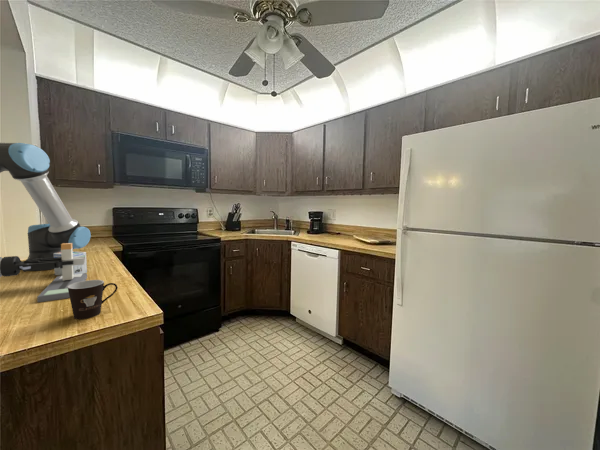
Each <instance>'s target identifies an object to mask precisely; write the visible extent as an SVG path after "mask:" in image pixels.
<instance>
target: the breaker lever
mask: <svg viewBox="0 0 600 450" xmlns="http://www.w3.org/2000/svg"><path fill="white" fill-rule="evenodd" d="M73 252H74V249H73V248H72V243H63V244H61V256H62V261H63V260H64V259H73ZM61 276H62V278H63V280H72V279H73V278H74V271H73V265H72V266H63V268H62V275H61Z"/></svg>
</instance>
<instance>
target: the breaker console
mask: <svg viewBox="0 0 600 450" xmlns="http://www.w3.org/2000/svg"><path fill="white" fill-rule="evenodd" d="M87 279H88V272H87V273H84V274H75V275H74V278H73V279H72V280H63V278H62V275H56V277H55V278H54V279H53V280H52V281H51V282H50V283H49V284H48V285H47V286H46V288H44V289H43V290H42V291H41V293H39V295H38V296H36V297H37V298H36V299H37V303H42V302H50V301H51V302H52V301H57V300H58V301H59V300H65V299H66V300H67V299H70V296H69V292H68V286H69V285H71V284H73V283H77V282H81V281H87Z"/></svg>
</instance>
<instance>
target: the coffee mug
mask: <svg viewBox="0 0 600 450" xmlns="http://www.w3.org/2000/svg"><path fill="white" fill-rule="evenodd" d="M108 286H114V287H115V289H114V291H113V292H112V293H111V294H109V295H107V296H106V297H105V298H104V299H103V293H104V291H105V289H106V288H107V287H108ZM117 291H118V285H117V284H116V283H114V282H110V283H109V282H108V283H107V284H105V281H104V280H102V279H89V280H86V281H81V282H77V283H73V284H71V285H69V286H68V292H69V296H70V298H69V300H70V301H69V302H70V305H71V310H72V314H73V315H72V316H73V319H75V320H86V319H91V318H95V317H97V316H99V315H100V314H101V312H102V304H103V303H105V302H106V301H107V300H108V299H109V298H111V297H112V296H113V295H114V294H115V293H116V292H117Z"/></svg>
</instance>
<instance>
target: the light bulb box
mask: <svg viewBox="0 0 600 450" xmlns="http://www.w3.org/2000/svg"><path fill="white" fill-rule="evenodd" d="M83 256H85V257H86V258H87V252H86V251H73V257H83ZM56 257H62V256H61V252H59V253H54V258H56ZM87 264H88V263H87V260H86V263H84V265H73V271H74V275H75V274H86V273H87V274H88V266H87ZM53 271H54V276H62V268H61V269H60V267H59V268H54V269H53Z"/></svg>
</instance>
